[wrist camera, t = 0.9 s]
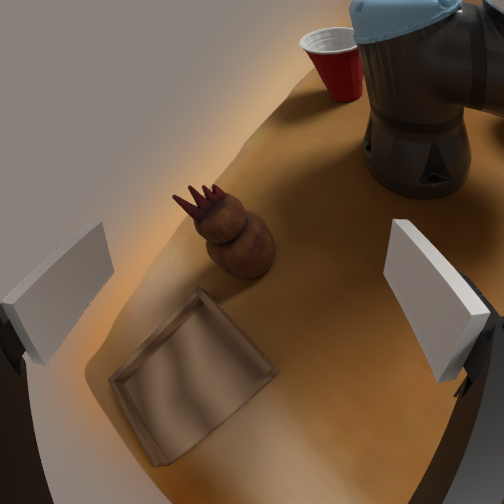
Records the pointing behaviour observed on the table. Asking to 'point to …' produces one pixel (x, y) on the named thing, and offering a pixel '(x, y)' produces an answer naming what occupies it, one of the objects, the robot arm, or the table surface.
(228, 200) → the wooden figurine
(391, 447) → the table surface
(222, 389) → the tray
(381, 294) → the table surface
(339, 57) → the plastic cup
